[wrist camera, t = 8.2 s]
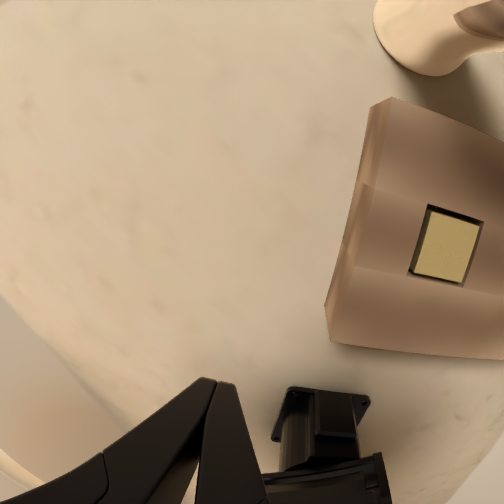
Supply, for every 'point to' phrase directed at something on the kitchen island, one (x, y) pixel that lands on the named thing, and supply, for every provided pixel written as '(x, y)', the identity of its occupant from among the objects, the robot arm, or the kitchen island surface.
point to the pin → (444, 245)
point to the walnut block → (406, 235)
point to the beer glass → (438, 32)
